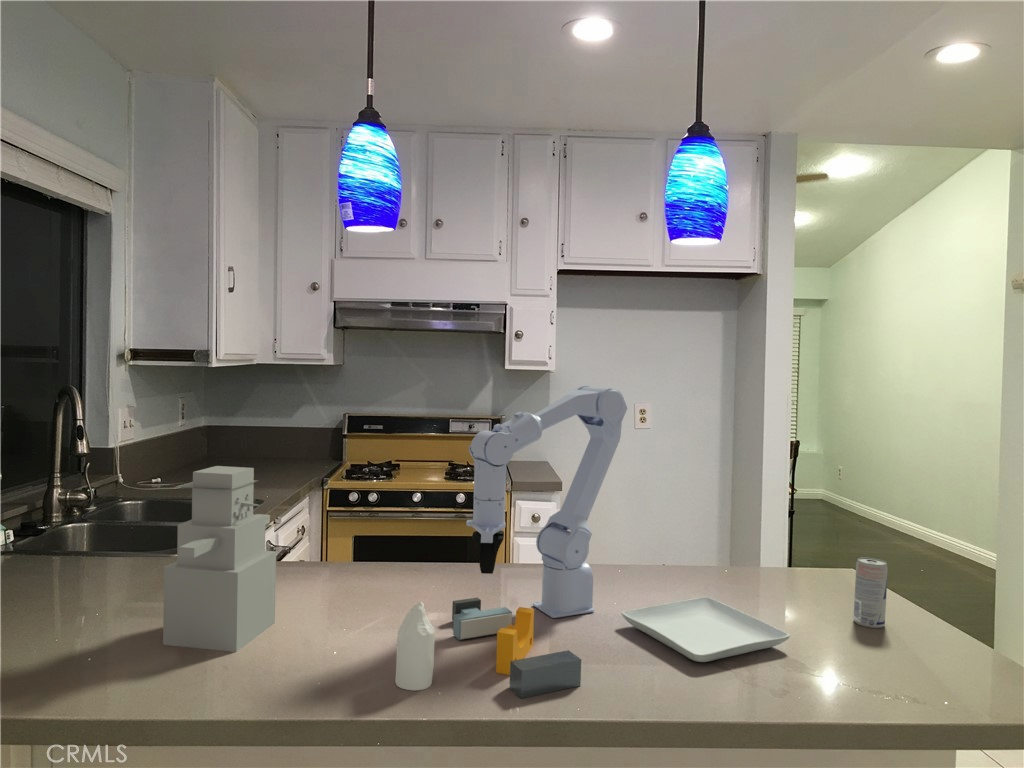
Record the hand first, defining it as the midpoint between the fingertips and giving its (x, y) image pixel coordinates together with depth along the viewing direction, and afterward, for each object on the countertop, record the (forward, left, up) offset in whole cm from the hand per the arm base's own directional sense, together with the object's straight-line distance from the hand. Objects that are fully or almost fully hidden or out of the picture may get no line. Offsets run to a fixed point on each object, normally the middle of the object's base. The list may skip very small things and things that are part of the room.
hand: (487, 572), depth 130 cm
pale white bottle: (+19, +17, -10) cm, 27 cm away
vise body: (+2, +26, -9) cm, 28 cm away
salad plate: (-33, +21, -10) cm, 40 cm away
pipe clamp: (+2, +15, -10) cm, 18 cm away
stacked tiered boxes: (+43, -13, -10) cm, 46 cm away
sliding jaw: (+2, +1, -9) cm, 10 cm away
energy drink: (-68, +28, -10) cm, 74 cm away
